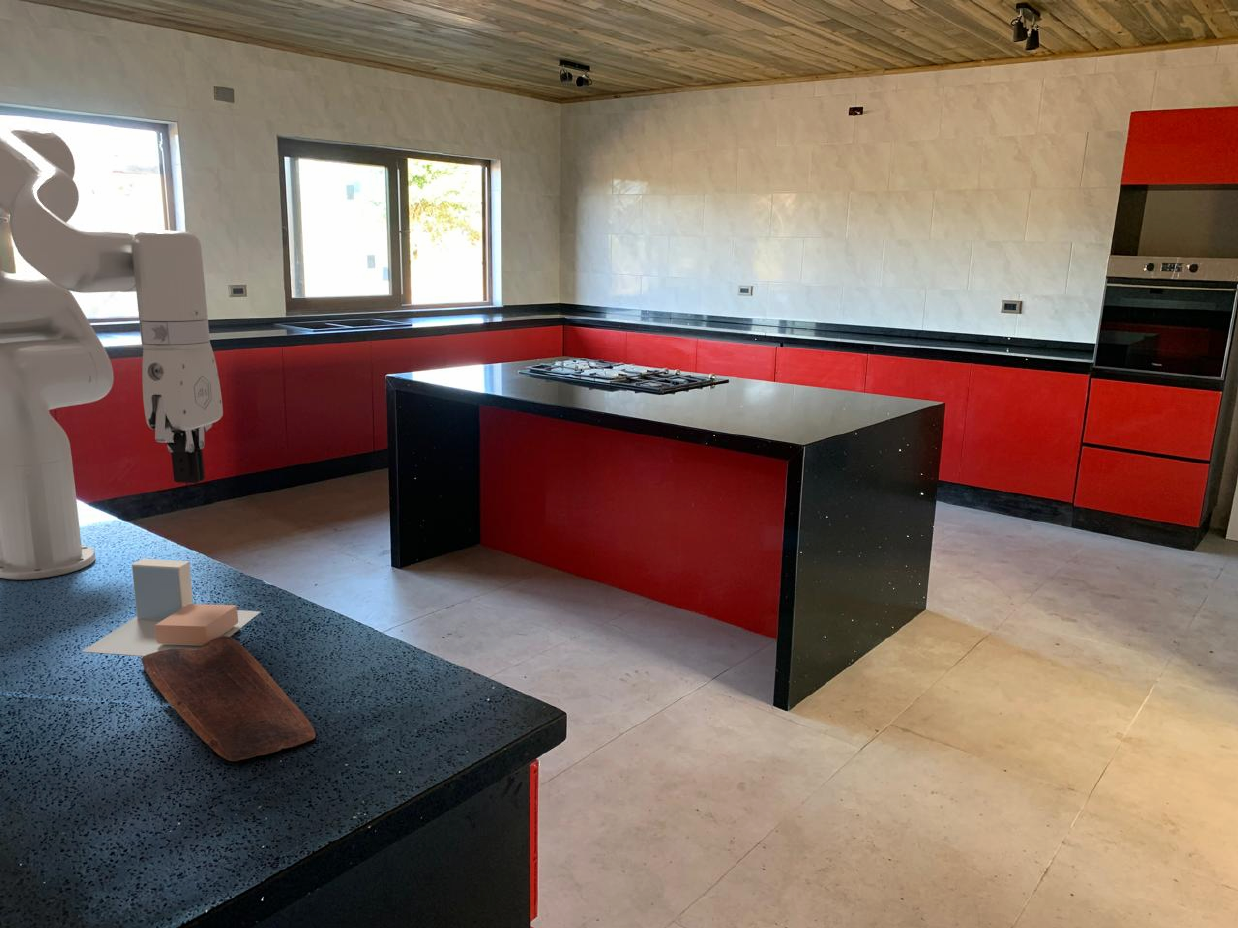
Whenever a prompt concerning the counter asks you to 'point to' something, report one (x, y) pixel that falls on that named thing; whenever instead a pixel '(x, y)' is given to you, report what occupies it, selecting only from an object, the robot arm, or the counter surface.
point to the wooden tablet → (228, 699)
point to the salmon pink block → (196, 624)
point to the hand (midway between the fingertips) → (189, 480)
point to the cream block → (161, 587)
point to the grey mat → (149, 637)
